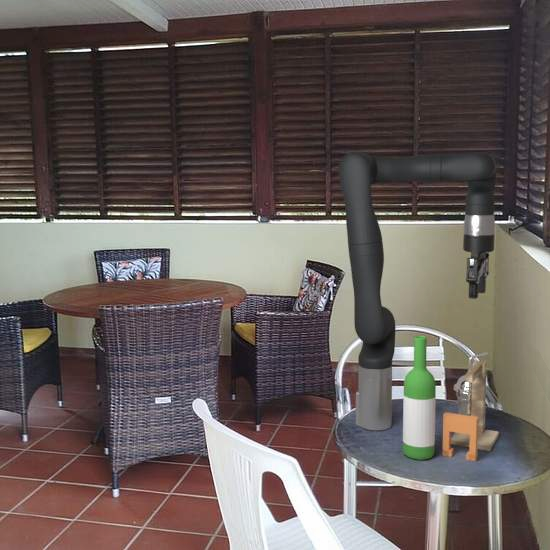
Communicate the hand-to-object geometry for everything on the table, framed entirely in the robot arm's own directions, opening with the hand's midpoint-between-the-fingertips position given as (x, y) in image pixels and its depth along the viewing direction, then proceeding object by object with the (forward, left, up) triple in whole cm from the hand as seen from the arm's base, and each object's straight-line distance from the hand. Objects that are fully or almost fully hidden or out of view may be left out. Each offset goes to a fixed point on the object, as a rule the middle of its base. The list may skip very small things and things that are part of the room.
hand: (477, 295), depth 171 cm
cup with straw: (-3, +9, -38) cm, 39 cm away
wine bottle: (-9, -18, -38) cm, 43 cm away
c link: (0, -15, -38) cm, 41 cm away
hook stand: (+1, -4, -38) cm, 38 cm away
